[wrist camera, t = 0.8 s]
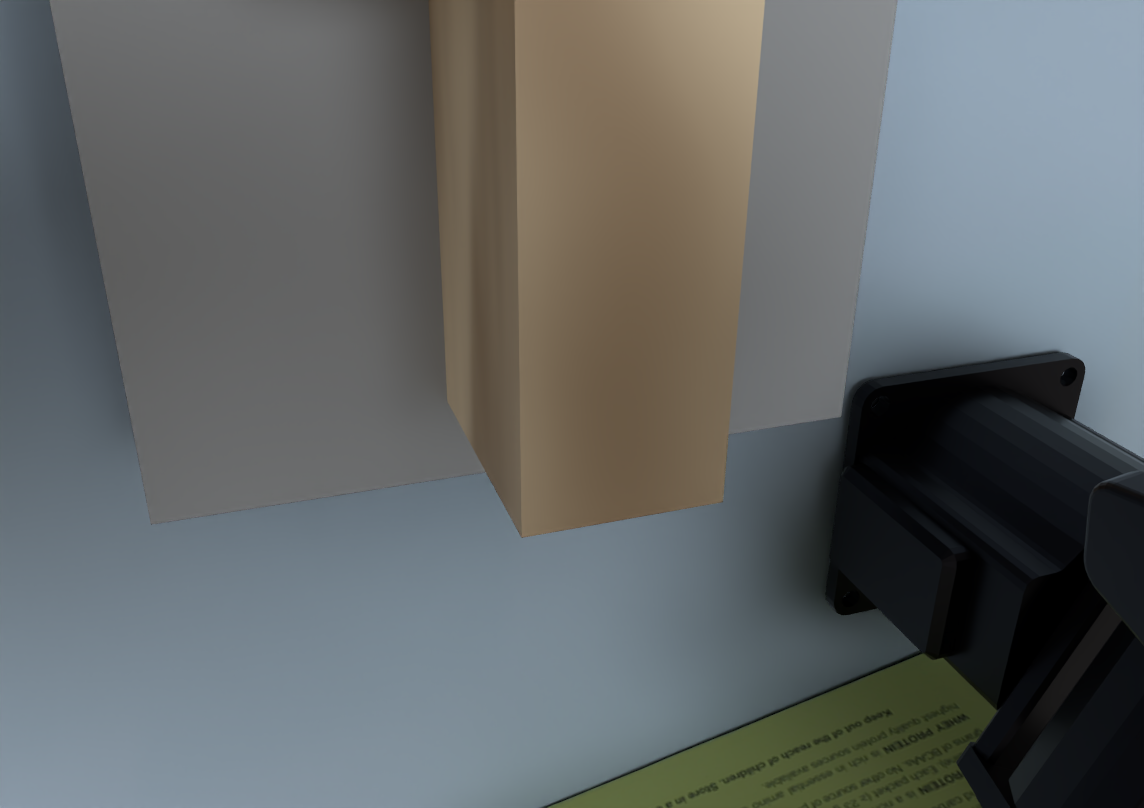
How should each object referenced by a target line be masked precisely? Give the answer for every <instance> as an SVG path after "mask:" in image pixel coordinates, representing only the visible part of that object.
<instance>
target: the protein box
mask: <svg viewBox="0 0 1144 808" xmlns="http://www.w3.org/2000/svg"><path fill="white" fill-rule="evenodd" d="M996 712H997V710H996V709H995V708H994V707H993V706H992V705H991V704H990V703H989V702H988V701H987V700H986V699H985V698H983V697H982V696H981V695H980V694H979V693H978V692H977V691H976V690H975V689H974V688H973V687H972V686H971V685H970V684H969V683H968V682H967V681H966V680H965V679H964V678H963V677H962V676H961V675H960V674H959V673H958V672H957V671H956V670H955V669H954V668H953V667H952V666H951V665H950V664H949V663H948V662H947V661H946V660H945V659H944V658H940V659H936V660H931V659H930V658H928V657H927V656H926V655H925V654H924V653H922V654H920V655H918V656H915V657H913V658H910V659H908V660H906V661H903V662H901V663H898V664H896V665H893V666H891V667H889V668H886V669H884V670H881V671H879V672H876V673H874V674H871V675H869V676H866V677H864V678H861V679H859V680H857V681H854V682H852V683H850V684H847V685H845V686H842V687H840V688H837V689H835V690H832V691H830V692H827V693H825V694H823V695H820V696H818V697H815V698H813V699H810V700H808V701H805V702H803V703H801V704H798V705H796V706H793V707H791V708H788V709H786V710H784V711H781V712H779V713H776V714H774V715H772V716H769V717H767V718H764V719H762V720H759V721H757V722H755V723H752V724H750V725H747V726H745V727H742V728H740V729H738V730H735V731H733V732H730V733H728V734H725V735H722V736H720V737H717V738H715V739H712V740H710V741H708V742H705V743H703V744H700V745H698V746H695V747H693V748H690V749H688V750H686V751H683V752H681V753H678V754H676V755H673V756H671V757H669V758H666V759H664V760H662V761H659V762H657V763H655V764H652V765H650V766H648V767H645V768H643V769H641V770H638V771H636V772H633V773H631V774H628V775H626V776H623V777H621V778H619V779H616V780H614V781H611V782H609V783H606V784H604V785H601V786H599V787H596V788H594V789H591V790H589V791H587V792H584V793H582V794H579V795H577V796H574V797H572V798H570V799H567V800H565V801H562V802H559V803H557V804H554V805H552V806H550V807H547V808H982V807H981V805H980V803H979V802H978V800H977V798H976V795H975V793H974V792H973V790H972V788H971V787H970V785H969V784H968V782H967V780H966V779H965V777H964V775H963V774H962V772H961V770H960V769H959V767H958V766H957V763H956V762H957V760H958V759H959V757H960V756H961V754H962V753H963V751H964V750H965V749H966V747H967V746H968V744H969V743H970V742H976V741H977V739H978V738H979V736H980V735H981V733H982V732H983V731H984V729H985V728H986V726H987V725H988V723H989V722H990V721H991V719H992V718H993V716H994V715H995V713H996Z"/></svg>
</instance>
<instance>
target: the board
mask: <svg viewBox="0 0 1144 808" xmlns="http://www.w3.org/2000/svg"><path fill="white" fill-rule="evenodd" d="M49 2H50V7H51V12H52V17H53V22H54V27H55V33H56V38H57V43H58V48H59V53H60V58H61V63H62V69H63V74H64V79H65V84H66V89H67V94H68V99H69V105H70V110H71V115H72V120H73V125H74V130H75V135H76V141H77V146H78V151H79V156H80V161H81V166H82V171H83V177H84V182H85V187H86V192H87V197H88V202H89V208H90V213H91V218H92V223H93V228H94V233H95V238H96V244H97V249H98V254H99V259H100V264H101V269H102V274H103V280H104V285H105V290H106V295H107V300H108V305H109V310H110V316H111V321H112V326H113V331H114V336H115V341H116V346H117V352H118V357H119V362H120V367H121V372H122V377H123V383H124V388H125V393H126V398H127V403H128V408H129V413H130V419H131V424H132V429H133V434H134V439H135V444H136V449H137V455H138V460H139V465H140V470H141V475H142V480H143V485H144V491H145V496H146V501H147V506H148V511H149V516H150V521H151V524H158V523H164V522H171V521H177V520H183V519H190V518H196V517H203V516H209V515H215V514H222V513H228V512H235V511H241V510H247V509H254V508H260V507H267V506H273V505H280V504H286V503H292V502H299V501H305V500H312V499H318V498H324V497H331V496H337V495H344V494H350V493H356V492H363V491H369V490H376V489H382V488H389V487H395V486H401V485H408V484H414V483H421V482H427V481H433V480H440V479H446V478H453V477H459V476H466V475H472V474H478V473H485V472H486V471H485V470H484V468H483V466H482V464H481V462H480V460H479V459H478V457H477V455H476V453H475V451H474V450H473V448H472V446H471V444H470V442H469V440H468V439H467V437H466V435H465V433H464V431H463V429H462V428H461V426H460V424H459V422H458V420H457V418H456V417H455V415H454V413H453V411H452V409H451V407H450V406H449V404H448V402H447V384H446V363H445V341H444V320H443V299H442V277H441V256H440V234H439V213H438V192H437V170H436V149H435V128H434V106H433V85H432V63H431V42H430V21H429V0H49ZM896 8H897V0H765V7H764V19H763V30H762V42H761V54H760V66H759V78H758V90H757V102H756V114H755V126H754V138H753V149H752V161H751V173H750V185H749V197H748V209H747V221H746V233H745V245H744V256H743V268H742V280H741V292H740V304H739V316H738V328H737V340H736V352H735V364H734V375H733V387H732V399H731V411H730V423H729V434H735V433H741V432H748V431H754V430H761V429H767V428H773V427H780V426H786V425H793V424H799V423H805V422H812V421H818V420H825V419H831V418H838V417H841V413H842V406H843V399H844V391H845V384H846V376H847V369H848V362H849V354H850V347H851V340H852V332H853V325H854V317H855V310H856V303H857V295H858V288H859V281H860V273H861V266H862V258H863V251H864V244H865V236H866V229H867V222H868V214H869V207H870V199H871V192H872V185H873V177H874V170H875V163H876V155H877V148H878V140H879V133H880V126H881V118H882V111H883V104H884V96H885V89H886V81H887V74H888V67H889V59H890V52H891V45H892V37H893V30H894V22H895V15H896Z"/></svg>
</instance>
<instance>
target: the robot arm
mask: <svg viewBox="0 0 1144 808" xmlns="http://www.w3.org/2000/svg"><path fill="white" fill-rule="evenodd" d="M1064 371H1065V372H1064ZM1063 372H1064V374H1063ZM1062 374H1063V375H1062ZM1084 375H1085V366H1084V363H1083V362H1082V361H1081V360H1080V359H1078V358H1076V357H1074V356H1072V355H1070V354H1068V353H1055V354H1048V355H1041V356H1034V357H1027V358H1020V359H1013V360H1006V361H999V362H993V363H986V364H979V365H972V366H965V367H958V368H951V369H944V370H937V371H931V372H924V373H917V374H910V375H903V376H896V377H889V378H882V379H875V380H871V381H868V382H866V383H865V384H863V385H862V386H861V387H860V388H859V389H858V390H857V392H856V393H855V395H854V398H853V401H852V408H851V415H850V422H849V429H848V436H847V443H846V451H845V458H844V465H843V472H842V475H841V477H840V484H839V491H838V499H837V506H836V513H835V520H834V527H833V534H832V542H831V549H830V565H829V572H828V579H827V586H826V601H827V602H828V604H829V605H830V606H831V607H832V608H833V609H834V610H835V611H836V612H837V613H838V614H841V615H850V614H855V613H859V612H864V611H868V610H873V609H877V608H878V609H879V610H880V611H881V612H882V613H883V614H884V615H885V616H886V617H887V618H888V619H889V620H890V621H891V622H892V623H893V624H894V625H895V626H896V627H897V628H898V629H899V630H900V631H901V632H902V633H903V634H904V635H905V636H906V637H907V638H908V639H909V640H910V641H911V642H912V643H913V644H914V645H915V646H916V647H917V648H918V649H919V650H920V651H921V652H922V653H924V654H925V655H926V656H927V657H928V658H930V659H931V660H936V659H940V658H944V659H945V660H946V661H947V662H948V663H949V664H950V665H951V666H952V667H953V668H954V669H955V670H956V671H957V672H958V673H959V674H960V675H961V676H962V677H963V678H964V679H965V680H966V681H967V682H968V683H969V684H970V685H971V686H972V687H973V688H974V689H975V690H976V691H977V692H978V693H979V694H980V695H981V696H982V697H983V698H985V699H986V700H987V701H988V702H989V703H990V704H991V705H992V706H993V707H994V708H995V709H996V710H997V712H996V713H995V715H994V716H993V718H992V719H991V721H990V722H989V723H988V725H987V726H986V728H985V729H984V731H983V732H982V733H981V735H980V736H979V738H978V739H977V741H976V742H970V743H969V744H968V746H967V747H966V749H965V750H964V751H963V753H962V754H961V756H960V757H959V759H958V760H957V762H956V763H957V766H958V767H959V769H960V770H961V772H962V774H963V775H964V777H965V779H966V780H967V782H968V784H969V785H970V787H971V788H972V790H973V792H974V793H975V795H976V798H977V800H978V802H979V803H980V805H981V807H982V808H1144V459H1143V458H1141V457H1140V456H1138V455H1136V454H1134V453H1133V452H1131V451H1129V450H1127V449H1126V448H1124V447H1122V446H1120V445H1119V444H1117V443H1115V442H1113V441H1112V440H1110V439H1108V438H1106V437H1105V436H1103V435H1101V434H1099V433H1097V432H1096V431H1094V430H1092V429H1090V428H1089V427H1087V426H1085V425H1083V424H1082V423H1080V422H1078V421H1076V420H1075V419H1074V416H1075V412H1076V408H1077V404H1078V400H1079V396H1080V392H1081V388H1082V384H1083V380H1084ZM878 397H880V399H879V401H878V403H877V404H876V405H875V406H874V407H872V408H871V406H872V403H873V401H874V400H875V399H876V398H878ZM848 592H849V593H848ZM847 593H848V594H847ZM846 594H847V595H846ZM845 595H846V596H845ZM844 596H845V597H844Z"/></svg>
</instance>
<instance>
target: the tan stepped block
mask: <svg viewBox="0 0 1144 808" xmlns="http://www.w3.org/2000/svg"><path fill="white" fill-rule="evenodd" d="M764 7H765V0H429V21H430V42H431V63H432V85H433V106H434V128H435V149H436V170H437V192H438V213H439V234H440V256H441V277H442V299H443V320H444V341H445V363H446V384H447V402H448V404H449V406H450V407H451V409H452V411H453V413H454V415H455V417H456V418H457V420H458V422H459V424H460V426H461V428H462V429H463V431H464V433H465V435H466V437H467V439H468V440H469V442H470V444H471V446H472V448H473V450H474V451H475V453H476V455H477V457H478V459H479V460H480V462H481V464H482V466H483V468H484V470H485V471H486V473H487V475H488V477H489V479H490V481H491V482H492V484H493V486H494V488H495V490H496V492H497V493H498V495H499V497H500V499H501V501H502V503H503V504H504V506H505V508H506V510H507V512H508V514H509V515H510V517H511V519H512V521H513V523H514V525H515V526H516V528H517V530H518V532H519V534H520V536H521V537H522V538H523V537H529V536H534V535H540V534H546V533H551V532H557V531H563V530H568V529H574V528H580V527H585V526H591V525H596V524H602V523H608V522H613V521H619V520H625V519H630V518H636V517H642V516H647V515H653V514H659V513H664V512H670V511H675V510H681V509H687V508H692V507H698V506H704V505H709V504H715V503H721V502H723V494H724V483H725V471H726V459H727V447H728V435H729V423H730V411H731V399H732V387H733V375H734V364H735V352H736V340H737V328H738V316H739V304H740V292H741V280H742V268H743V256H744V245H745V233H746V221H747V209H748V197H749V185H750V173H751V161H752V149H753V138H754V126H755V114H756V102H757V90H758V78H759V66H760V54H761V42H762V30H763V19H764Z"/></svg>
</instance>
